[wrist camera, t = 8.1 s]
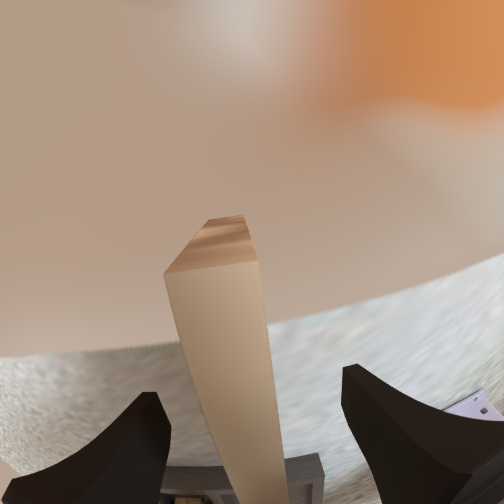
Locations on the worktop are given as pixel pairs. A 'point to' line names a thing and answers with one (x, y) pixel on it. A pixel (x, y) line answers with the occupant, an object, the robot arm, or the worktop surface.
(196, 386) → the birch sheet
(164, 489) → the rack
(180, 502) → the oak offcuts
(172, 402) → the worktop surface
